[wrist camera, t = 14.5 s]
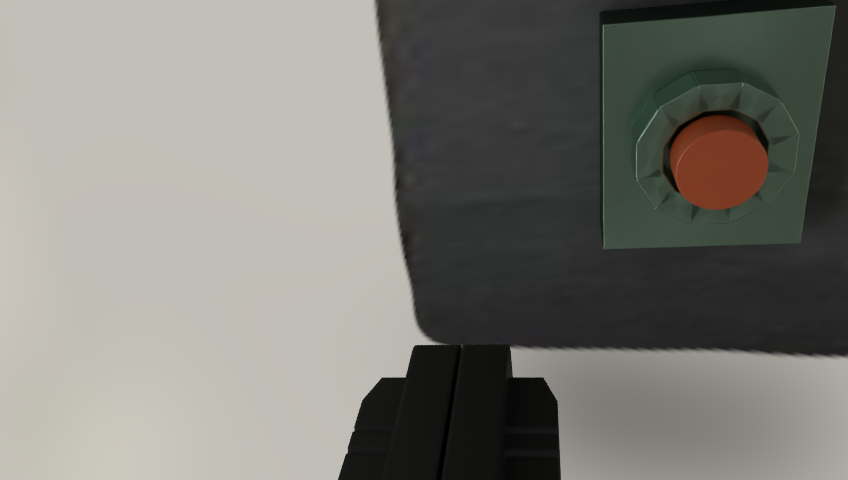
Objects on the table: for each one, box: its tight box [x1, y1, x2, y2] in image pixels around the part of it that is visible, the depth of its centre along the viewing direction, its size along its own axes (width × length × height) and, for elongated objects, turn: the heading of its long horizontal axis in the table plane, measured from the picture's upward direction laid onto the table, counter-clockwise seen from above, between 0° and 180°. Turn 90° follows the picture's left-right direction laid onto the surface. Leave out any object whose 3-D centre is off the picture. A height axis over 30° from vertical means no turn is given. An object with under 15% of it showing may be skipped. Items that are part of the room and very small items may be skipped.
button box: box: [599, 0, 836, 249], centre depth 33 cm, size 11×9×4 cm
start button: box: [670, 115, 768, 210], centre depth 31 cm, size 4×4×2 cm
